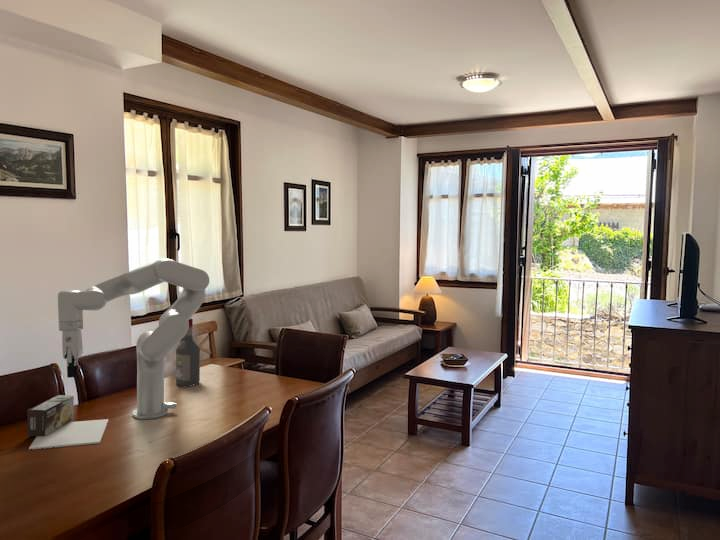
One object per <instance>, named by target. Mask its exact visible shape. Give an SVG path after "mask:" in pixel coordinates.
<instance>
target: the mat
mask: <svg viewBox="0 0 720 540" xmlns="http://www.w3.org/2000/svg"><path fill="white" fill-rule="evenodd" d="M107 423H109V418H106V419H105V418H103V419H92V420H80V421H79V420H78V421H70V422H69V423H67V424H65V425H64V426H62V427H60V428H58V429H57V430H55V431H53V432H51V433H50V434H48V435H46V436H35V438H34V440H33V441H32V443H31V444H30V445H29V447H28V450H29V451H31V449H32V450H39V449H40V450H41V449H42V448H43V449H51V448H53V447H54V448H63V447H64V448H65V447H74V446H76V447H77V446H87V445H96V444H101V442H102V439H103V435H104V433H105V431H106V429H107V425H108V424H107Z"/></svg>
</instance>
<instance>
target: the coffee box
mask: <svg viewBox="0 0 720 540" xmlns="http://www.w3.org/2000/svg"><path fill="white" fill-rule="evenodd" d="M74 398H75V397H74V395H66V394H65V395H64V394H63V395H62V394H59V395H55V396H54V397H51V398H50V399H47V400H46V401H43V402H41V403H39V404H36V405H35V406H33V407H31V408H28V409H27V410H26V411H27V413H26V414H27V415H26V416H27V420H26V422H27V424H26V425H27V426H26V427H27V428H26V430H27V437H37V436H46V435H48V434H50V433H51V432H53V431H55V430H57V429H58V428H60V427H62V426H64V425H65V424H67V423H69V422H73V421H74V408H75V407H74V406H75V405H74V402H75V401H74V400H75V399H74Z"/></svg>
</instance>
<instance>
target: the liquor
mask: <svg viewBox="0 0 720 540" xmlns="http://www.w3.org/2000/svg"><path fill="white" fill-rule="evenodd" d="M188 321H189V328H188V331H187V333H186V334H185V336H184V337H183V340H181V341H180V343H179V345H178V346H177V347H176V350H175V384H176V385H177V384H178V385H177V386H180V385H182V386H181V387H184V386H186V387H191V386H190V385H193V384H197V383H198V384H199V383H200V381H201V380H200V378H201V377H200V375H201V366H200V365H201V349H200V345H199V344H197V342H196V341H195V340H194V338H193V324H194V323H193V318H190V319H189V320H188ZM198 384H197V385H198ZM193 386H194V385H193Z"/></svg>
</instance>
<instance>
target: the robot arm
mask: <svg viewBox="0 0 720 540" xmlns="http://www.w3.org/2000/svg"><path fill="white" fill-rule="evenodd" d="M162 283H167V284H170V285H173V286H177V287H179V288H183V289H182V292H181V294H180V296H179V297H178V298H177V299H176V300H175V301H174V302H173V303H172V304H171V305H170V306H169V307H168V308H167V310H165V311H164V312H163V314H162V315H161V316H160V317H159V319H158V326H157V327H156V328H155V329H154V330H148V331H144V332H143V333H141V334H140V335H139V336H138V338H137V341H136V348H135V349H136V371H137V373H136V409H134V410H133V411H132V417H133V418H135V419H139V420H151V419H158V418H162V417H164V416H166V415H167V414H169V409H177V403H176V402H171V401H170V402H167V401H166V399H165V357H166V356H167V355H168V354H169V353H170V352H171V351H172V350H173V349H174V348H175V347H176V346H177V345H178V344H180V342H181V341H182V339H184V336H185V334H186V333H187V331H188V328H189V321H188V320H189V319H192V317H193V316H194V315H195V313H196V312H197V311H198V310H199V308H200V307H201V306H202V304H203V302H204V300H205V294H206V289H207V288H208V287H209V284H210V275H209V274H208V273H207V272H206V271H205V270H203V269H200V268H198V267H195V266H191V265H188V264H184V263H182V262H179V261H176V260H174V259H172V258H171V259H170V258H167V257H163V258H159V259H156V260H154V261H152V262H150V263H147V264H144V265H143V266H140V267H138V268H135V269H133V270H130V271H127V272H124V273H122V274H120V275H118V276H115V277H112V278H110V279H108V280H104V281H102V282H100V283H98V284H95V285H93V286H90V287H88V288H87V289H85V290H84V291H82V290H78V289H66V290H60V291H59V292H58V293H57V312H58V313H57V314H58V315H57V316H58V331H59V332H61V334H62V335H61V343H62V344H61V345H62V347H61V348H62V349H61V350H62V357H63V359H64V360H66V372H67V374H66V375H67V378H77V377H78V376H79V364H78V361H79V358H80V357H81V356H82V355H83V353H84V348H83V346H84V345H83V337H82V330H83V329H84V314H83V313H84V312H83V311H100V310H102V309H103V308H104V307H105V306H106V304H107V303H108V302H110V301H112V300H115V299H118V298H121V297H124V296H129V295H136V294H139V293H142V292H144V291H146V290H148V289H151V288H153V287H155V286H157V285H160V284H162Z"/></svg>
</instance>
